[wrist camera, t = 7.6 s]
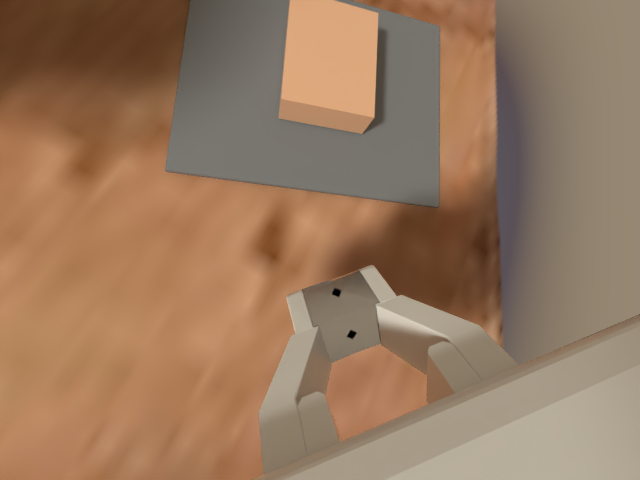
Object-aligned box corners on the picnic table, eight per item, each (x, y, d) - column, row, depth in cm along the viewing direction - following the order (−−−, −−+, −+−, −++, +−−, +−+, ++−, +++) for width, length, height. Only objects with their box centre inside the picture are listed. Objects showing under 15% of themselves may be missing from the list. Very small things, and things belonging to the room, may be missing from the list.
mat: (166, 171, 20) (165, 170, 20) (197, -41, 23) (197, -45, 22) (436, 207, 25) (439, 207, 24) (437, 28, 27) (439, 26, 27)
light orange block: (281, 98, 20) (291, -13, 21) (278, 119, 22) (287, 20, 23) (374, 117, 21) (378, 13, 22) (361, 135, 24) (365, 40, 25)
